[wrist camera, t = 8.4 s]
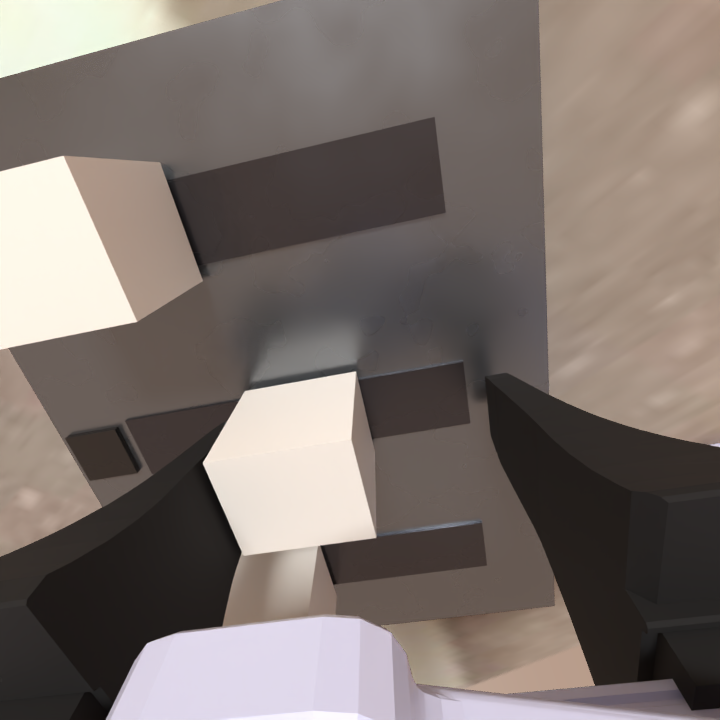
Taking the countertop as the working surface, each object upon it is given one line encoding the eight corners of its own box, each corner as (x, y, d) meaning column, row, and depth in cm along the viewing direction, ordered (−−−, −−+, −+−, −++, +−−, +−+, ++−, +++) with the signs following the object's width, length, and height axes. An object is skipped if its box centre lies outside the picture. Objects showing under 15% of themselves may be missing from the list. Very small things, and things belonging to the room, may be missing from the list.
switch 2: (356, 371, 12) (351, 439, 9) (374, 452, 14) (376, 538, 10) (244, 391, 13) (202, 463, 10) (272, 468, 14) (243, 555, 11)
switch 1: (159, 162, 10) (63, 155, 7) (202, 280, 11) (137, 321, 8) (32, 193, 11) (-117, 200, 7) (87, 304, 12) (-20, 353, 8)
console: (507, -27, 10) (540, -76, 8) (536, 563, 19) (556, 610, 17) (-54, 124, 12) (-140, 113, 10) (202, 604, 20) (183, 652, 18)
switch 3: (318, 541, 15) (304, 638, 12) (337, 595, 16) (328, 697, 13) (228, 553, 16) (191, 650, 12) (252, 606, 17) (225, 707, 14)
